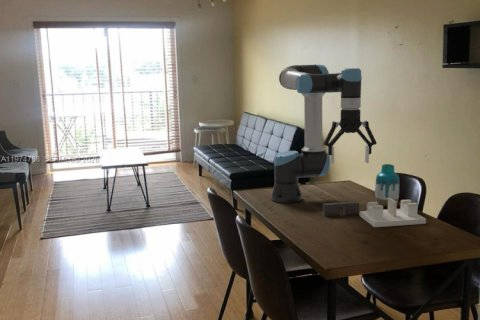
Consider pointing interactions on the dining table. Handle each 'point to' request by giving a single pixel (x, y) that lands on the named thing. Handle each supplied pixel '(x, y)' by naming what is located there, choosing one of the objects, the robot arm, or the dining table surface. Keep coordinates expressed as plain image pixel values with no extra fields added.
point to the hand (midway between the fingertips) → (349, 162)
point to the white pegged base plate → (392, 214)
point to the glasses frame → (333, 208)
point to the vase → (386, 185)
